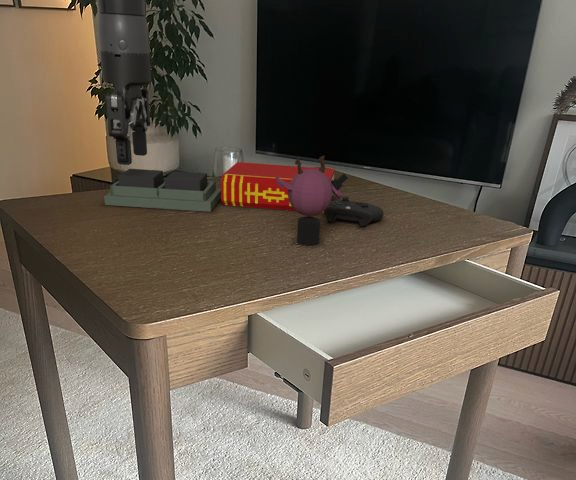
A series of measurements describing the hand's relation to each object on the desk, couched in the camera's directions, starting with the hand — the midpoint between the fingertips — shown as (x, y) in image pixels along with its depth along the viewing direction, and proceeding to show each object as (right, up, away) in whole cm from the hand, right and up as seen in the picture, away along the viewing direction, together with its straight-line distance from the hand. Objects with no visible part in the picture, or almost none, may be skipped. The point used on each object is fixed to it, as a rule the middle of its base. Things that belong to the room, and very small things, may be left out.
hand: (132, 159), depth 101 cm
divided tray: (+5, -6, +4) cm, 8 cm away
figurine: (+29, -17, -13) cm, 36 cm away
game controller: (+36, -11, -2) cm, 38 cm away
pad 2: (+9, -5, +3) cm, 10 cm away
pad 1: (+1, -4, +3) cm, 5 cm away
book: (+25, -5, +7) cm, 26 cm away
